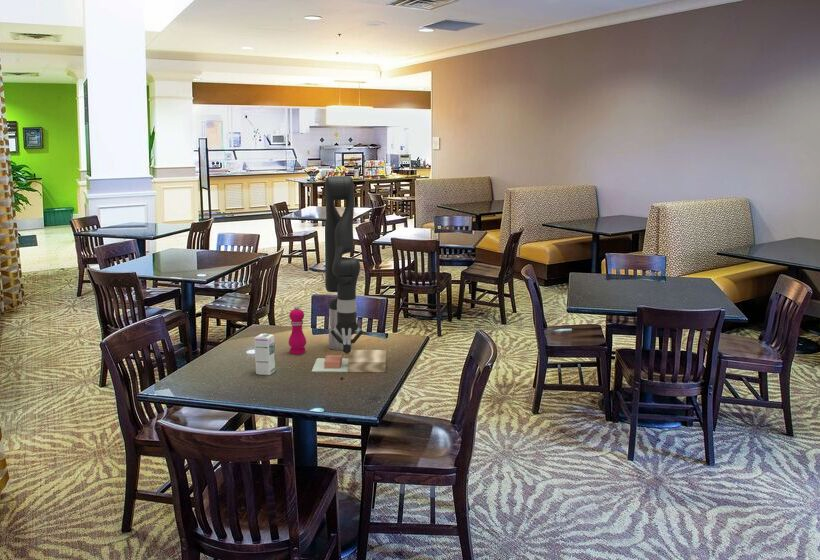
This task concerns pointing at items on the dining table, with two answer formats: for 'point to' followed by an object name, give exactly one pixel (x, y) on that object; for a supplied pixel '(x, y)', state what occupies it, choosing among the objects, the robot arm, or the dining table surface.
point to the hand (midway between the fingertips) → (347, 353)
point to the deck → (367, 361)
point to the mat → (320, 368)
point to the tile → (333, 361)
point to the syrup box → (265, 354)
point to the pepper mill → (297, 332)
